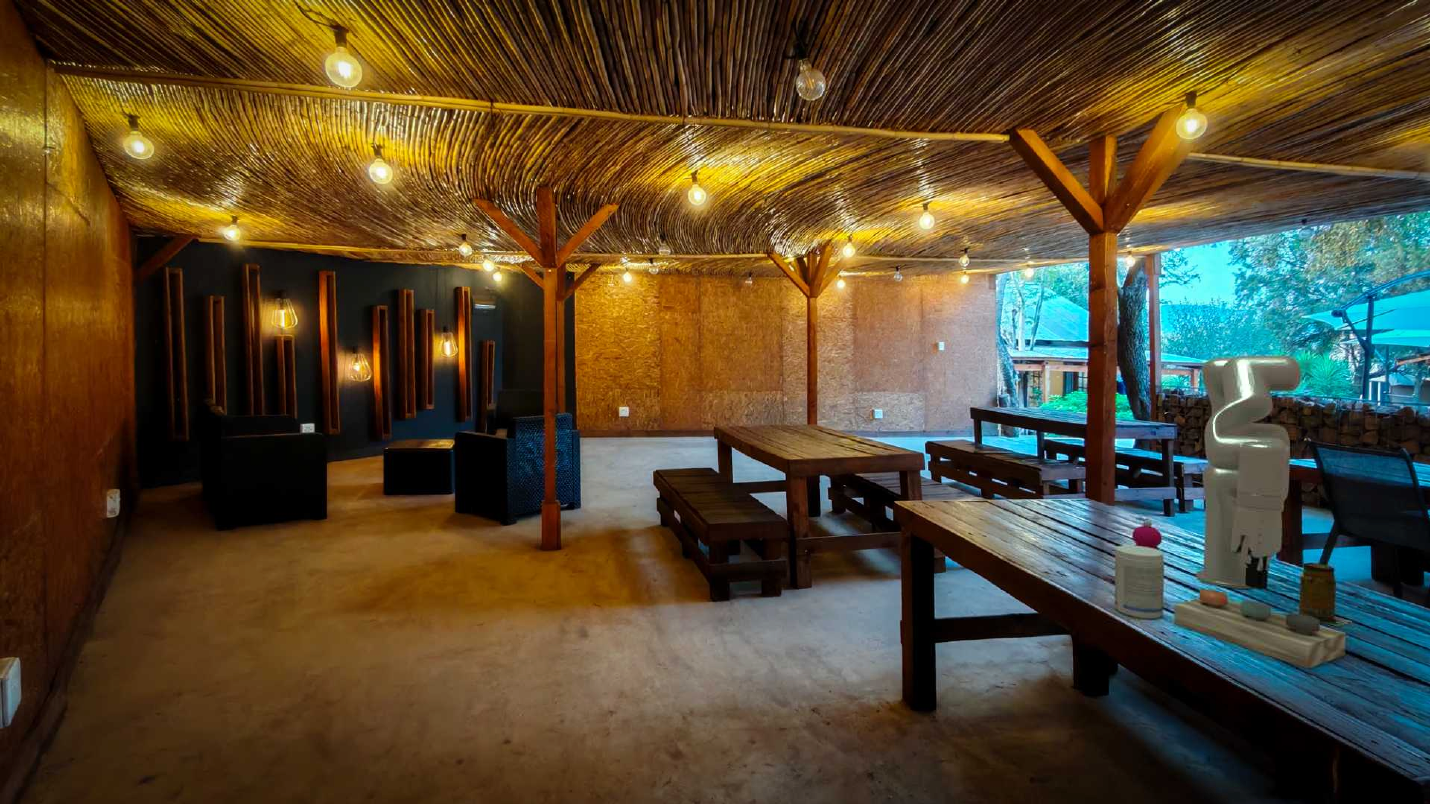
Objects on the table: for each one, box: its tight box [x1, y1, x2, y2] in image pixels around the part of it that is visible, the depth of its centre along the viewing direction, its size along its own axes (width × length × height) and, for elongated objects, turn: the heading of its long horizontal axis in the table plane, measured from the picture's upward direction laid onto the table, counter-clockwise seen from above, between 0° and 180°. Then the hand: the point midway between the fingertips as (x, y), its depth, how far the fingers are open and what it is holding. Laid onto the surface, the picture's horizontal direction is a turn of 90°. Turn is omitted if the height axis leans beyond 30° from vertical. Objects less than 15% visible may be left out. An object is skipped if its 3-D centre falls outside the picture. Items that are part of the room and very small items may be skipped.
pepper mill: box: [1132, 519, 1163, 551], centre depth 160 cm, size 7×7×20 cm
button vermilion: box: [1198, 588, 1229, 609], centre depth 145 cm, size 5×5×5 cm
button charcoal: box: [1285, 612, 1321, 636], centre depth 131 cm, size 5×5×5 cm
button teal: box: [1240, 600, 1272, 621], centre depth 138 cm, size 5×5×5 cm
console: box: [1173, 597, 1347, 670], centre depth 138 cm, size 14×24×4 cm, turn 25°
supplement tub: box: [1114, 544, 1165, 619], centre depth 153 cm, size 10×10×15 cm
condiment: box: [1294, 562, 1353, 627], centre depth 149 cm, size 7×8×12 cm
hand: (1256, 586), depth 138 cm, fingers closed
